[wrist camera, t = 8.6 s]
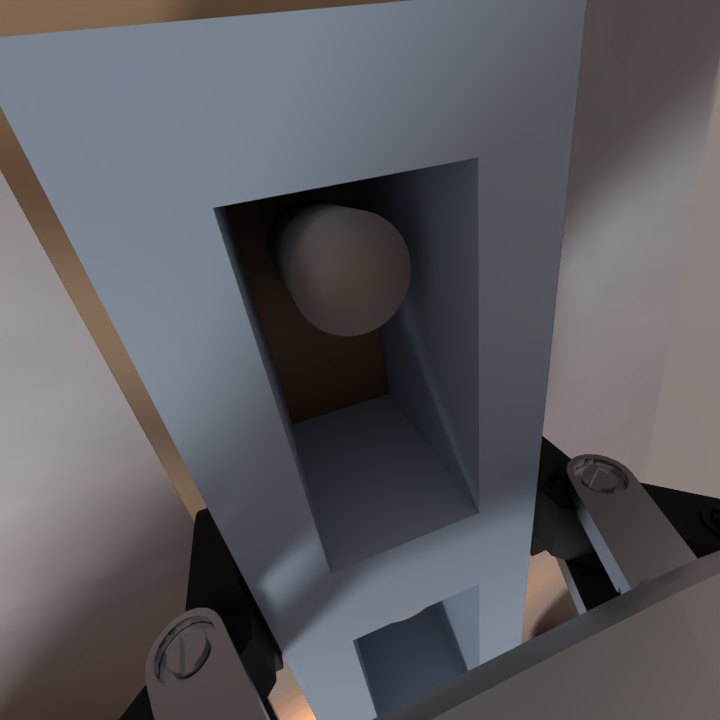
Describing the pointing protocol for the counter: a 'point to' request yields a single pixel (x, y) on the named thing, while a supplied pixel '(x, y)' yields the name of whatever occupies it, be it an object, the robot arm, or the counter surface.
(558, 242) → the two-pocket blue tray
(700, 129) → the counter surface
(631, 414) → the counter surface
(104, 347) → the walnut board
